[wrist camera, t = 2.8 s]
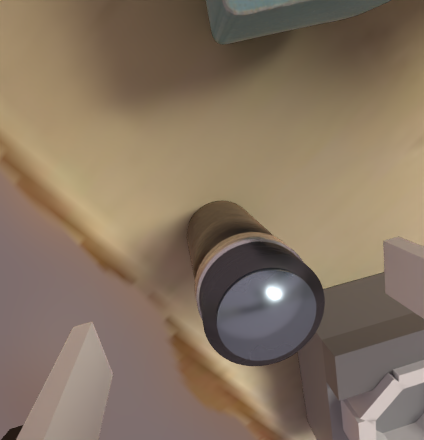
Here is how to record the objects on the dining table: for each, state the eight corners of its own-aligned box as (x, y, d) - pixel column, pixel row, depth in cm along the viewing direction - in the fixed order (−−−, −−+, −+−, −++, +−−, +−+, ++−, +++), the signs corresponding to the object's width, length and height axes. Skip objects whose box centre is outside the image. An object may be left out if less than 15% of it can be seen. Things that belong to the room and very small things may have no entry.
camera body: (290, 298, 23) (342, 366, 16) (410, 264, 24) (510, 315, 17) (307, 420, 27) (355, 517, 20) (410, 388, 28) (489, 469, 21)
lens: (177, 209, 20) (187, 276, 10) (248, 192, 20) (324, 240, 10) (194, 273, 21) (216, 387, 11) (259, 256, 22) (335, 352, 12)
